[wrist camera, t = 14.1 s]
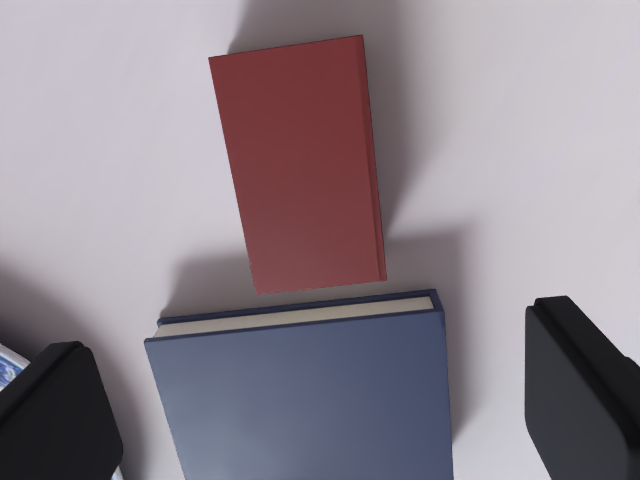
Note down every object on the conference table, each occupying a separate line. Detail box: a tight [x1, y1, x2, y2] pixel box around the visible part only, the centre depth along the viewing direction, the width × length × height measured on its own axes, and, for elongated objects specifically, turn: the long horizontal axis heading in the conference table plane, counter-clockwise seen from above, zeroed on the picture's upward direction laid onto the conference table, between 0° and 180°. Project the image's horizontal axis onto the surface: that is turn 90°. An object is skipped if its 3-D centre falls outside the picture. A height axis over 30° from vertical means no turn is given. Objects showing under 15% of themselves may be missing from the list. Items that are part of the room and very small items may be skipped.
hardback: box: [144, 289, 454, 480], centre depth 29 cm, size 16×12×2 cm
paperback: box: [208, 35, 387, 295], centre depth 24 cm, size 6×11×4 cm, turn 8°
